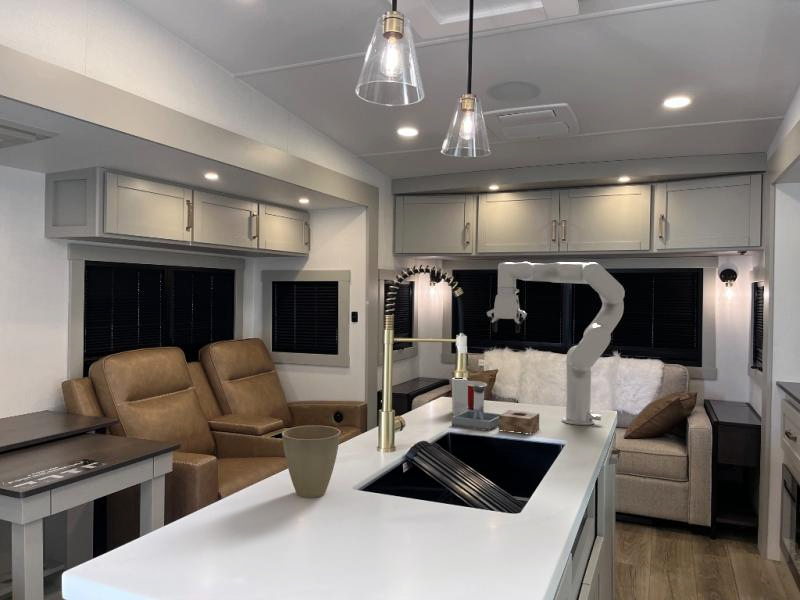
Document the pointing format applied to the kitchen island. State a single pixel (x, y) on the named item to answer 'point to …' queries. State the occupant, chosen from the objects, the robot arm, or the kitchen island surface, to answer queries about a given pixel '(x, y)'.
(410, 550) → the kitchen island surface
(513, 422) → the pin block
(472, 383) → the plastic cup
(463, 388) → the skincare box
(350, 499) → the kitchen island surface
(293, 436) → the plant pot
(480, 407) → the pin
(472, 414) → the tray
